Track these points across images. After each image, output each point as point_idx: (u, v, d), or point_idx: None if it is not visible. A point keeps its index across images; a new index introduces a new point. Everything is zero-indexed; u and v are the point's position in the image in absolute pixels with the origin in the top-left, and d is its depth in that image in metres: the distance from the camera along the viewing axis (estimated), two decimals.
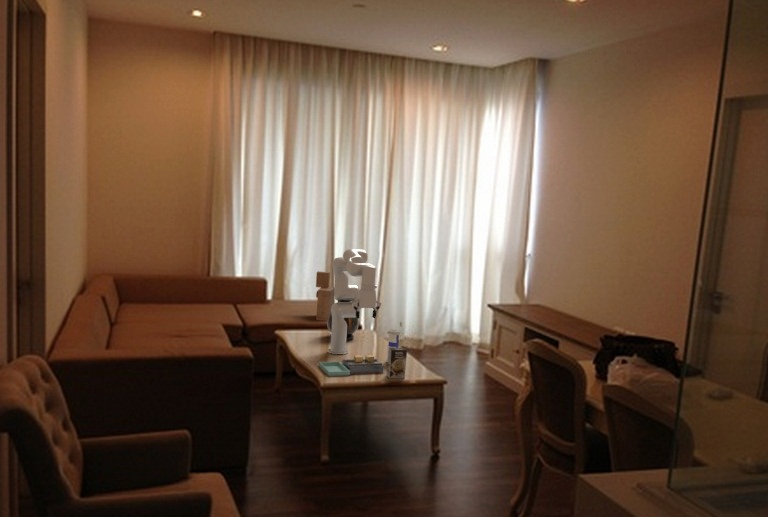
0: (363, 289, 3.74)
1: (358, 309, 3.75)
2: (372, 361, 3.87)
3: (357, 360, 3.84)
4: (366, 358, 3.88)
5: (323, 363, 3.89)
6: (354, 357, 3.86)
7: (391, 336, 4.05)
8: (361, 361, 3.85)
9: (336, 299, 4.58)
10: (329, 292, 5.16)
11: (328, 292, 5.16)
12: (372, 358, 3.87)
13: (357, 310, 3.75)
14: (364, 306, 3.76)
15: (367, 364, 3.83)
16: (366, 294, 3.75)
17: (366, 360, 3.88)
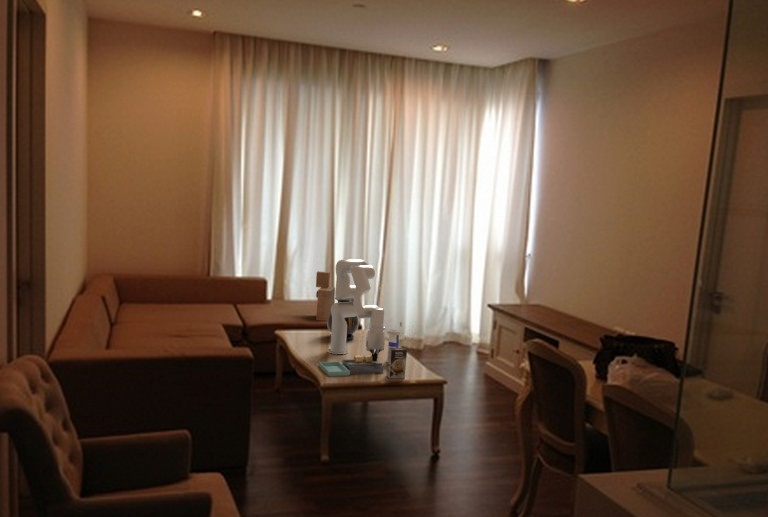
0: (372, 331, 3.85)
1: (374, 352, 3.87)
2: (370, 361, 3.86)
3: (357, 360, 3.84)
4: (364, 358, 3.87)
5: (323, 363, 3.89)
6: (354, 357, 3.86)
7: (391, 336, 4.05)
8: (361, 361, 3.85)
9: (336, 299, 4.58)
10: (329, 292, 5.16)
11: (328, 292, 5.16)
12: (370, 358, 3.86)
13: (373, 353, 3.87)
14: (373, 347, 3.86)
15: (367, 364, 3.83)
16: (375, 336, 3.85)
17: (364, 360, 3.87)
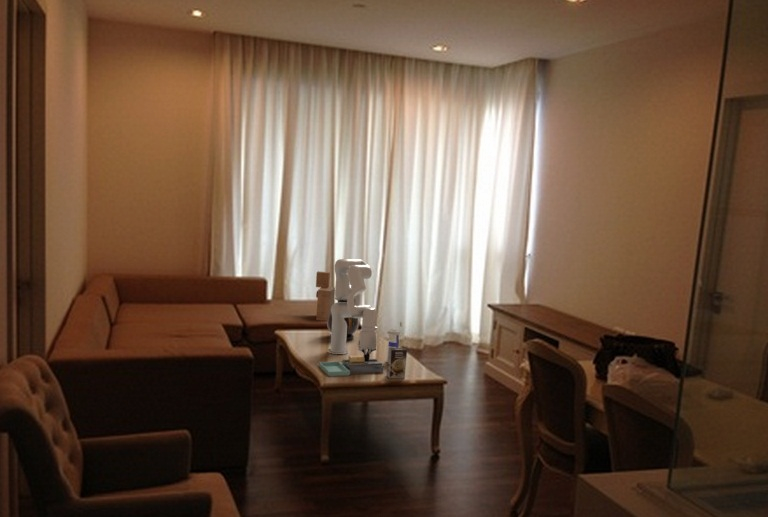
0: (364, 331, 3.83)
1: (366, 352, 3.86)
2: (362, 362, 3.84)
3: (352, 360, 3.82)
4: None
5: (323, 363, 3.89)
6: (349, 357, 3.84)
7: (391, 336, 4.05)
8: (356, 361, 3.83)
9: (336, 299, 4.58)
10: (329, 292, 5.16)
11: (328, 292, 5.16)
12: (362, 359, 3.84)
13: (365, 353, 3.85)
14: (365, 347, 3.84)
15: (367, 364, 3.83)
16: (367, 335, 3.83)
17: None
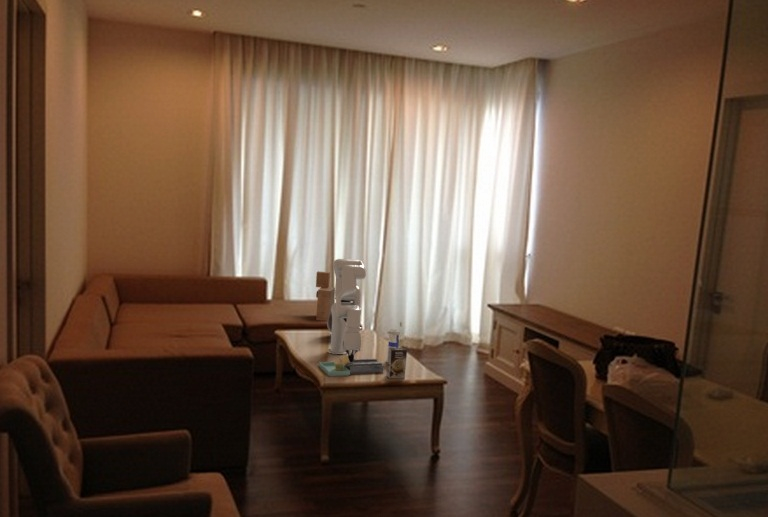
0: (348, 331, 3.80)
1: (350, 353, 3.82)
2: (347, 361, 3.81)
3: (339, 369, 3.80)
4: (341, 360, 3.81)
5: (323, 363, 3.89)
6: (336, 369, 3.82)
7: (391, 336, 4.05)
8: (340, 364, 3.80)
9: None
10: (329, 292, 5.16)
11: (328, 292, 5.16)
12: (346, 358, 3.80)
13: (349, 354, 3.82)
14: (349, 348, 3.81)
15: (367, 364, 3.83)
16: (351, 336, 3.80)
17: (342, 362, 3.81)
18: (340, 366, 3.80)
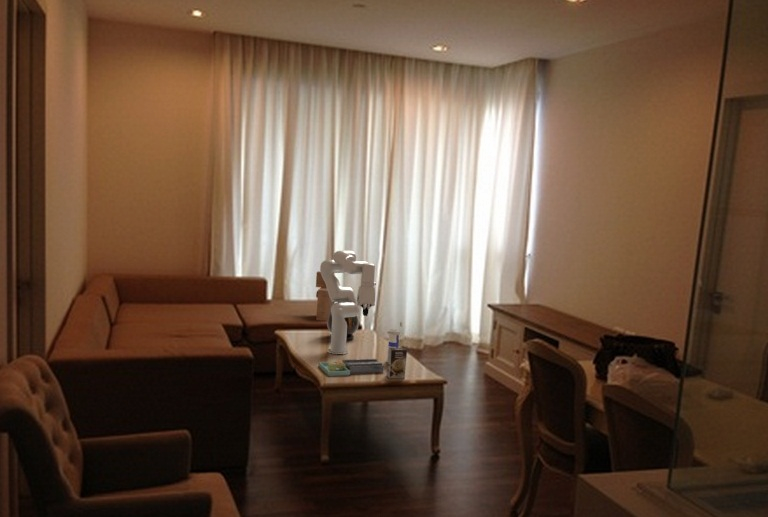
0: (363, 286, 3.92)
1: (365, 307, 3.95)
2: (339, 367, 3.79)
3: (334, 367, 3.79)
4: None
5: (323, 363, 3.89)
6: None
7: (391, 336, 4.05)
8: (330, 366, 3.78)
9: None
10: None
11: None
12: (341, 368, 3.80)
13: (364, 308, 3.95)
14: (364, 302, 3.94)
15: (367, 364, 3.83)
16: (366, 290, 3.93)
17: (341, 362, 3.81)
18: (332, 366, 3.78)
